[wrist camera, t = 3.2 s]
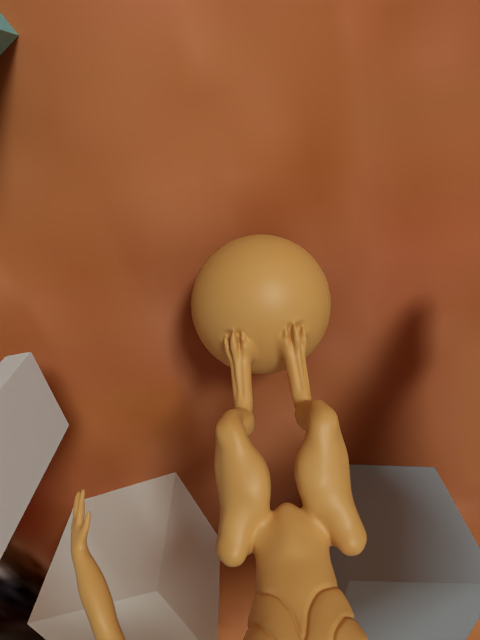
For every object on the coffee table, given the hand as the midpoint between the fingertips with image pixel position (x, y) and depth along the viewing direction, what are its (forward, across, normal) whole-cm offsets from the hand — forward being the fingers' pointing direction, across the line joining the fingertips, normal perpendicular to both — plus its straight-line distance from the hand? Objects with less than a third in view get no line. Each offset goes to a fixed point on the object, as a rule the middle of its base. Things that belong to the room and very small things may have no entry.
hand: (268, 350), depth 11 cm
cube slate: (+3, +3, -11) cm, 12 cm away
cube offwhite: (+3, -7, -10) cm, 13 cm away
